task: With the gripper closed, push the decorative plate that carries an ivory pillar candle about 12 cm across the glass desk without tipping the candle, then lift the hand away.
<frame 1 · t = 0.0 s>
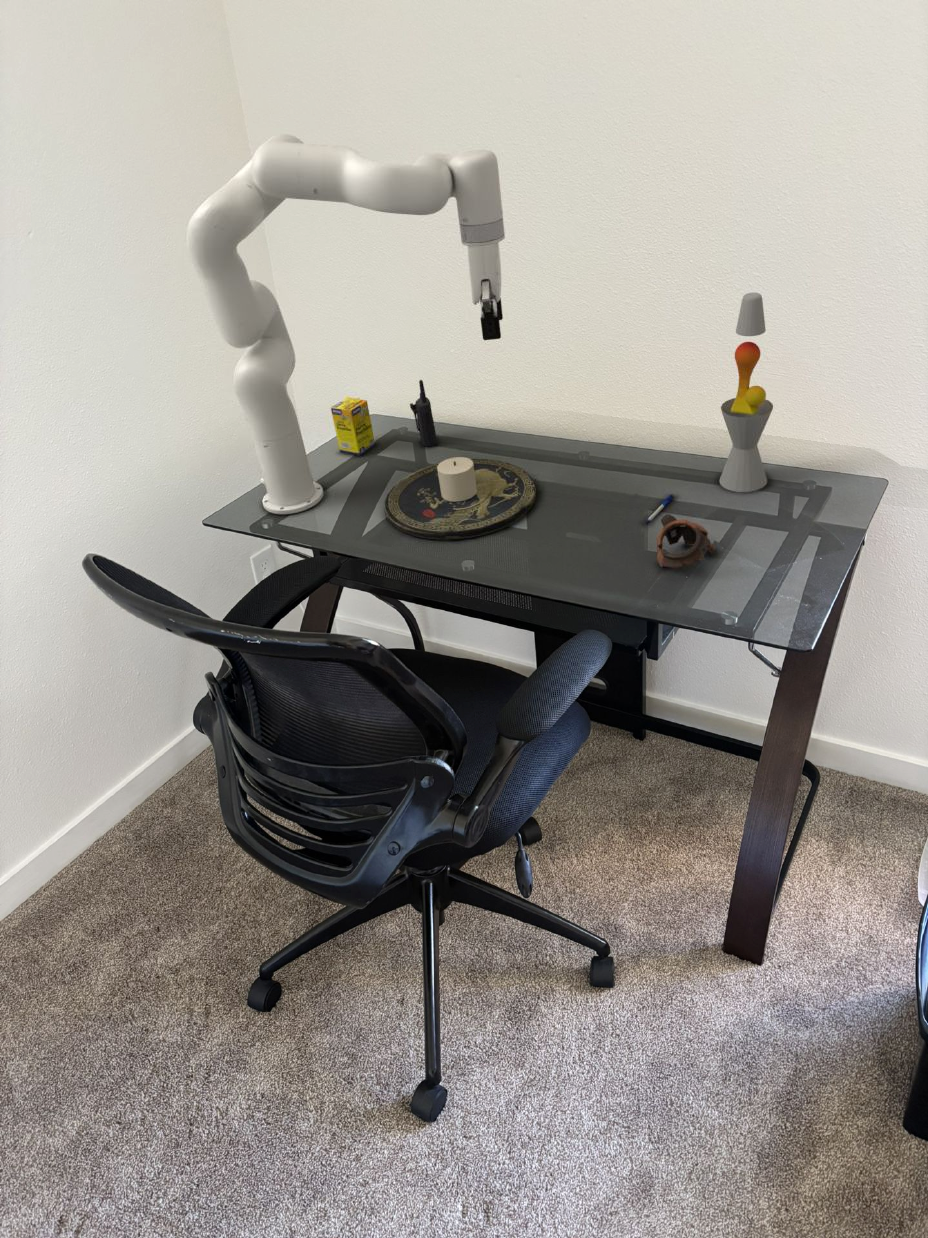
hand: (493, 329, 171), 31 cm above the table, tool pointing down, fingers open, 9 cm apart
lava lamp: (743, 481, 178), on the table
pottery mug: (682, 557, 160), on the table
supplement box: (358, 449, 211), on the table
two-way radio: (426, 443, 209), on the table
candle: (459, 492, 184), point 2 cm above the table, touching decorative plate
ballpoint pen: (659, 511, 173), on the table
decorative plate: (460, 501, 185), on the table, touching candle
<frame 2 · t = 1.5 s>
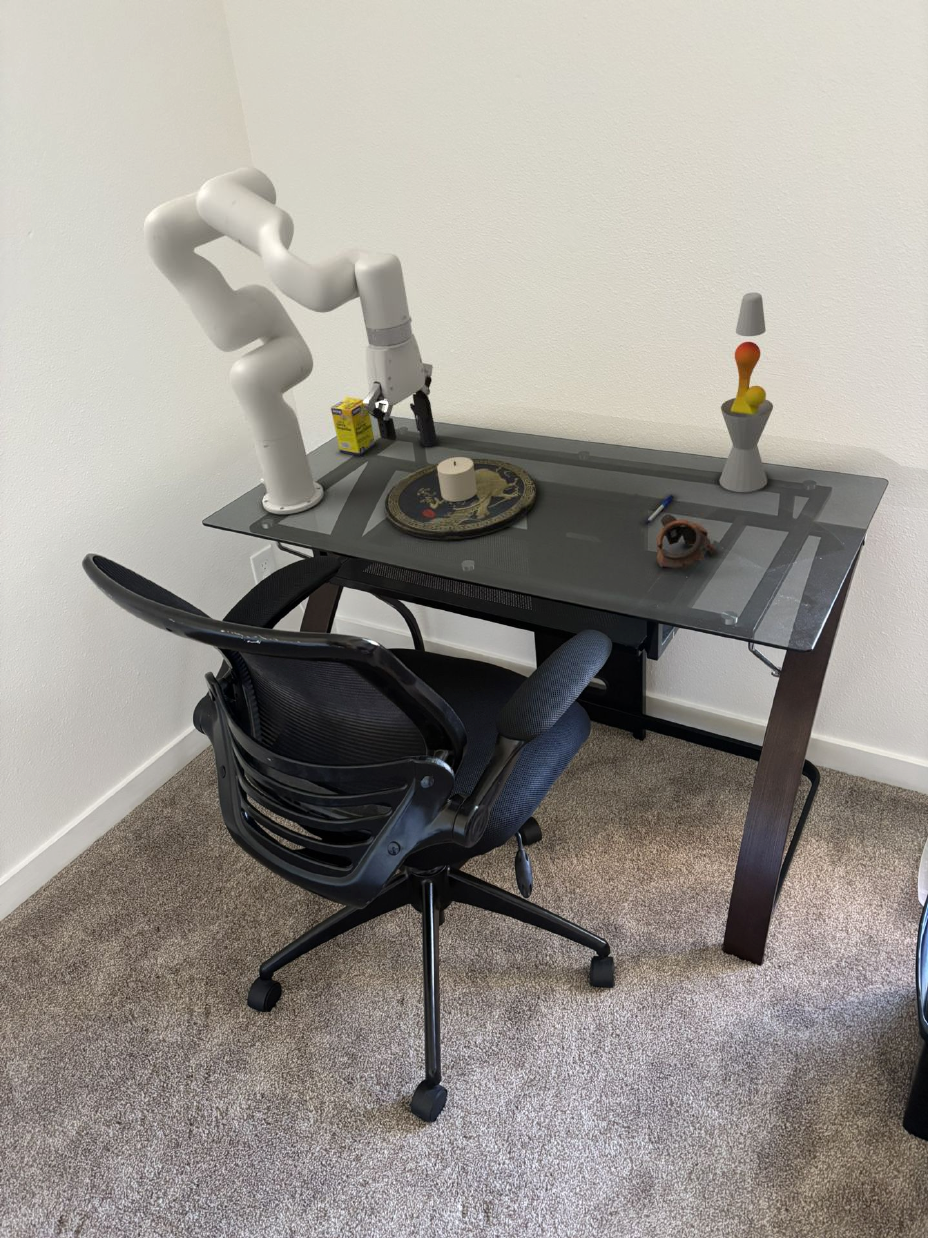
hand: (406, 427, 167), 21 cm above the table, tool pointing down, fingers open, 9 cm apart
nothing on the table moved.
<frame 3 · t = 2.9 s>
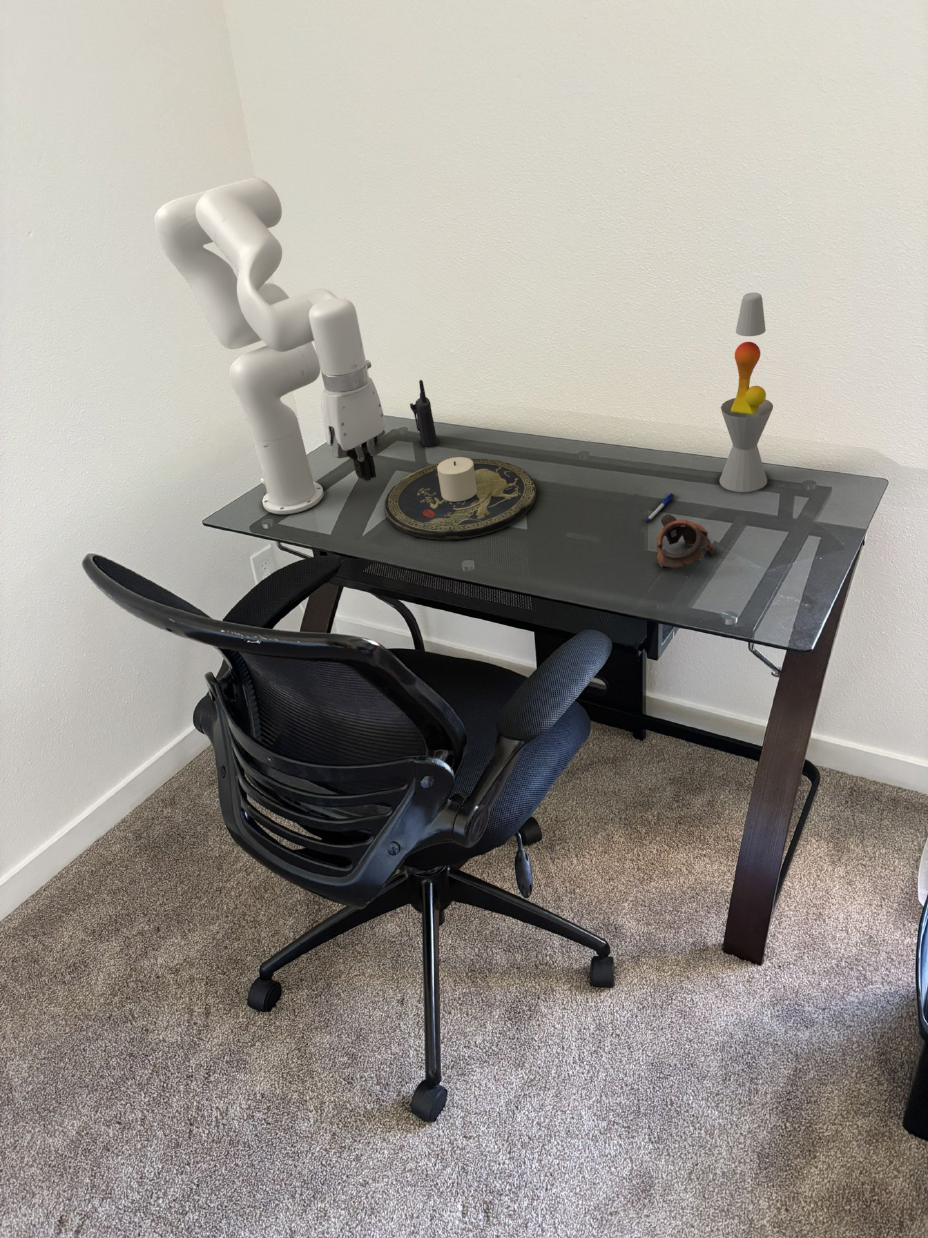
hand: (366, 476, 165), 15 cm above the table, tool pointing down, fingers closed
nothing on the table moved.
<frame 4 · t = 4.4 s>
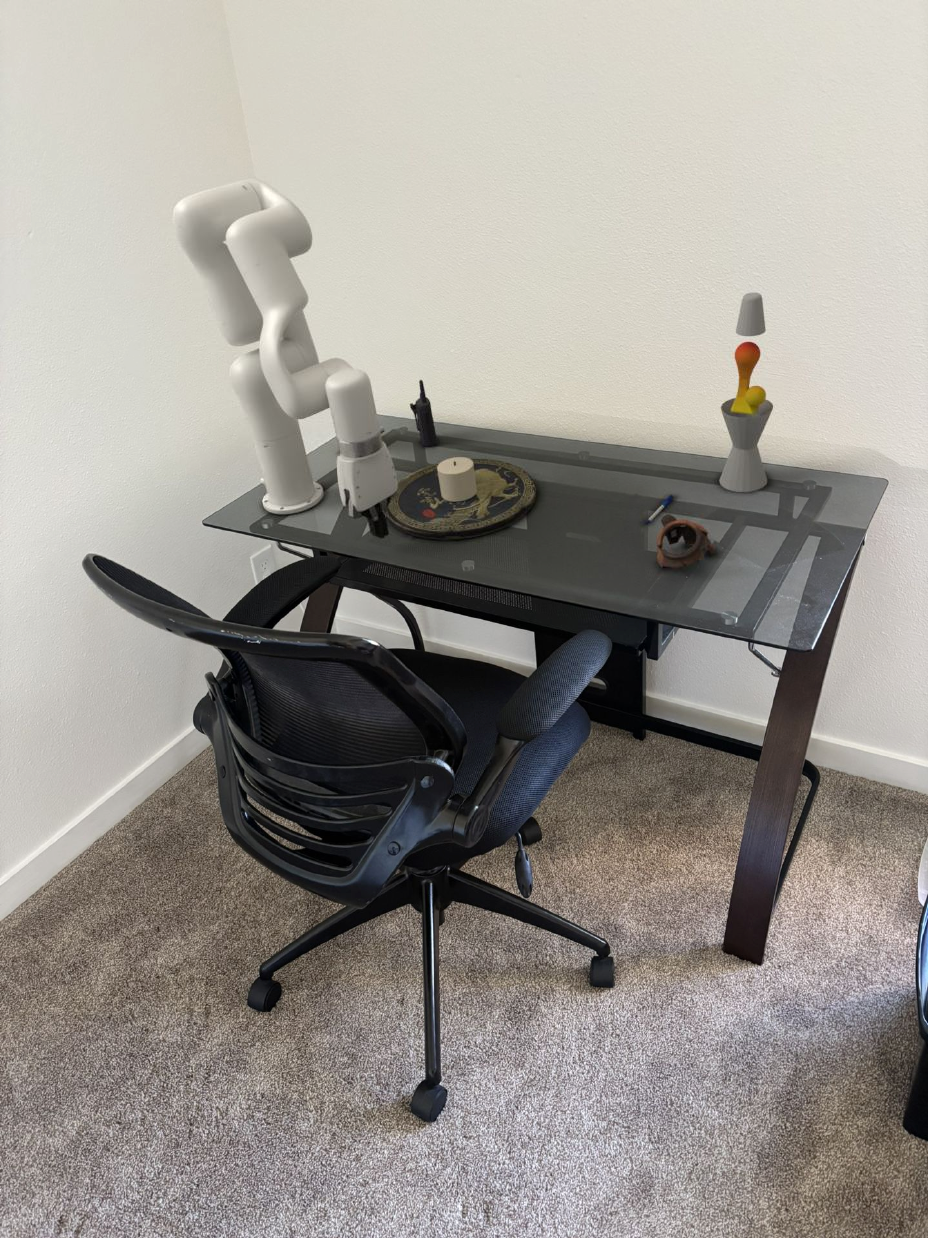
hand: (380, 534, 172), 3 cm above the table, tool pointing down, fingers closed
nothing on the table moved.
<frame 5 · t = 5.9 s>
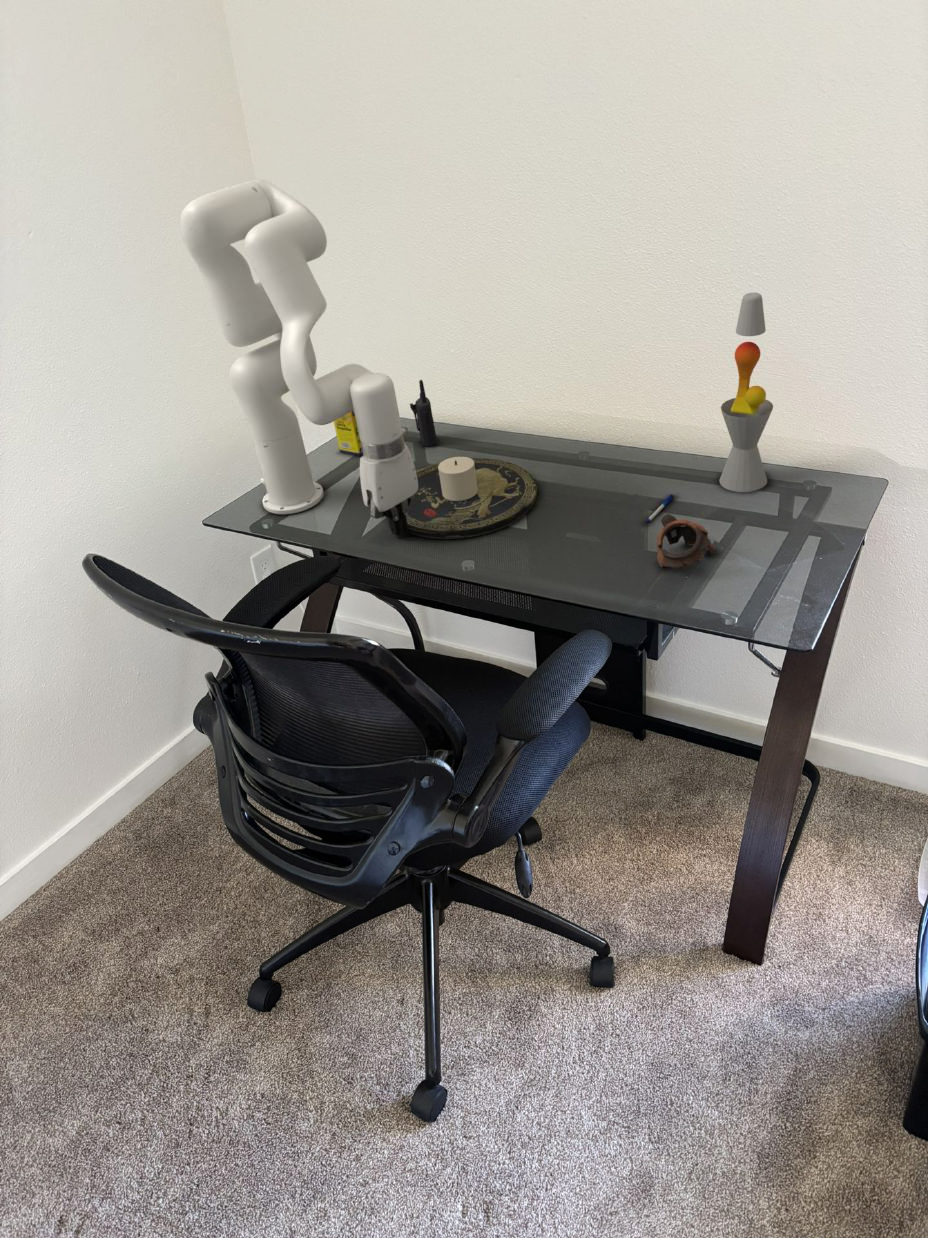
hand: (400, 534, 176), 1 cm above the table, tool pointing down, fingers closed
decorative plate: (461, 501, 186), on the table, touching candle, gripper
everything else where it was.
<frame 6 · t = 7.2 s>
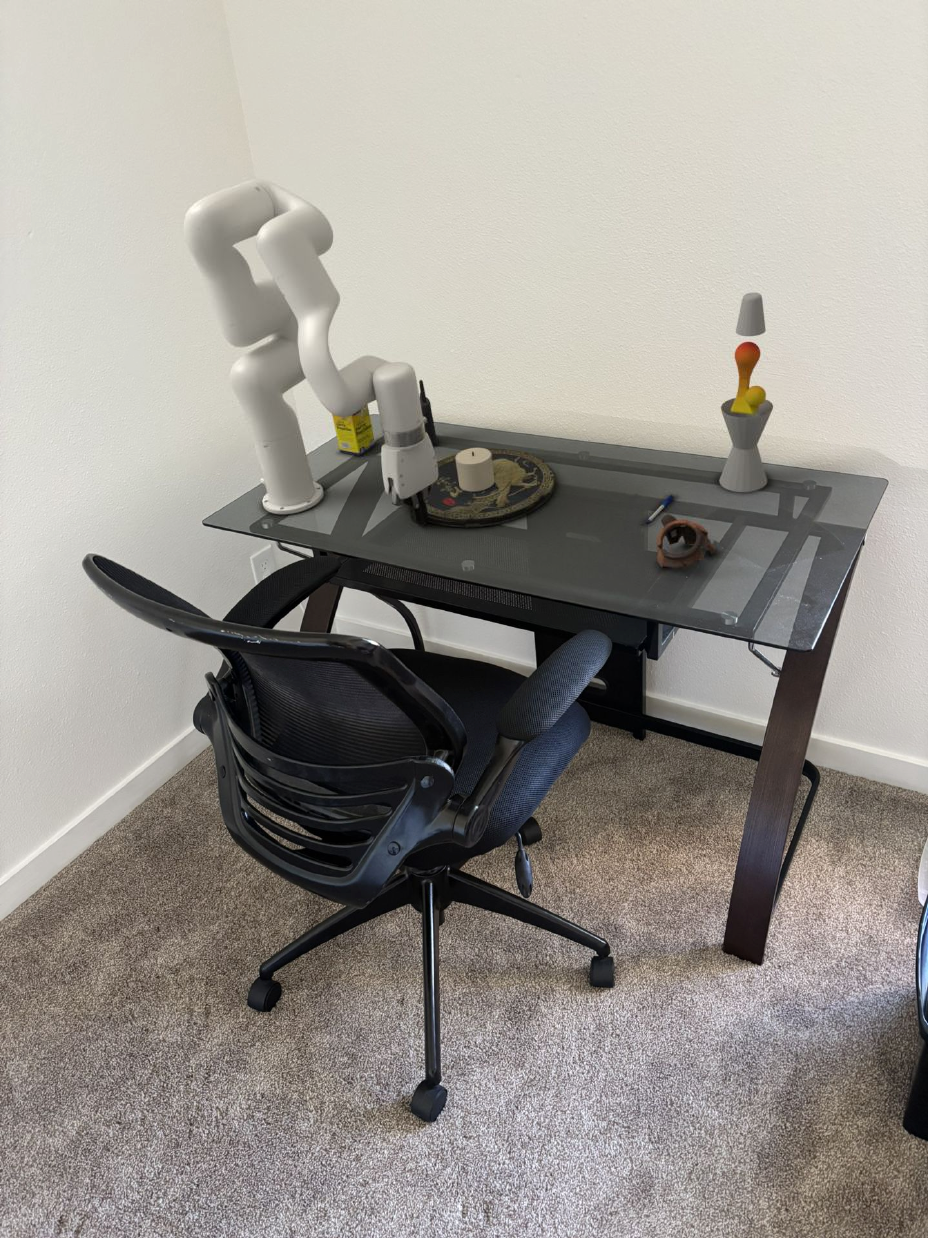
hand: (420, 521, 179), 1 cm above the table, tool pointing down, fingers closed
candle: (476, 482, 187), point 2 cm above the table, touching decorative plate
decorative plate: (480, 490, 188), on the table, touching candle, gripper
everything else where it was.
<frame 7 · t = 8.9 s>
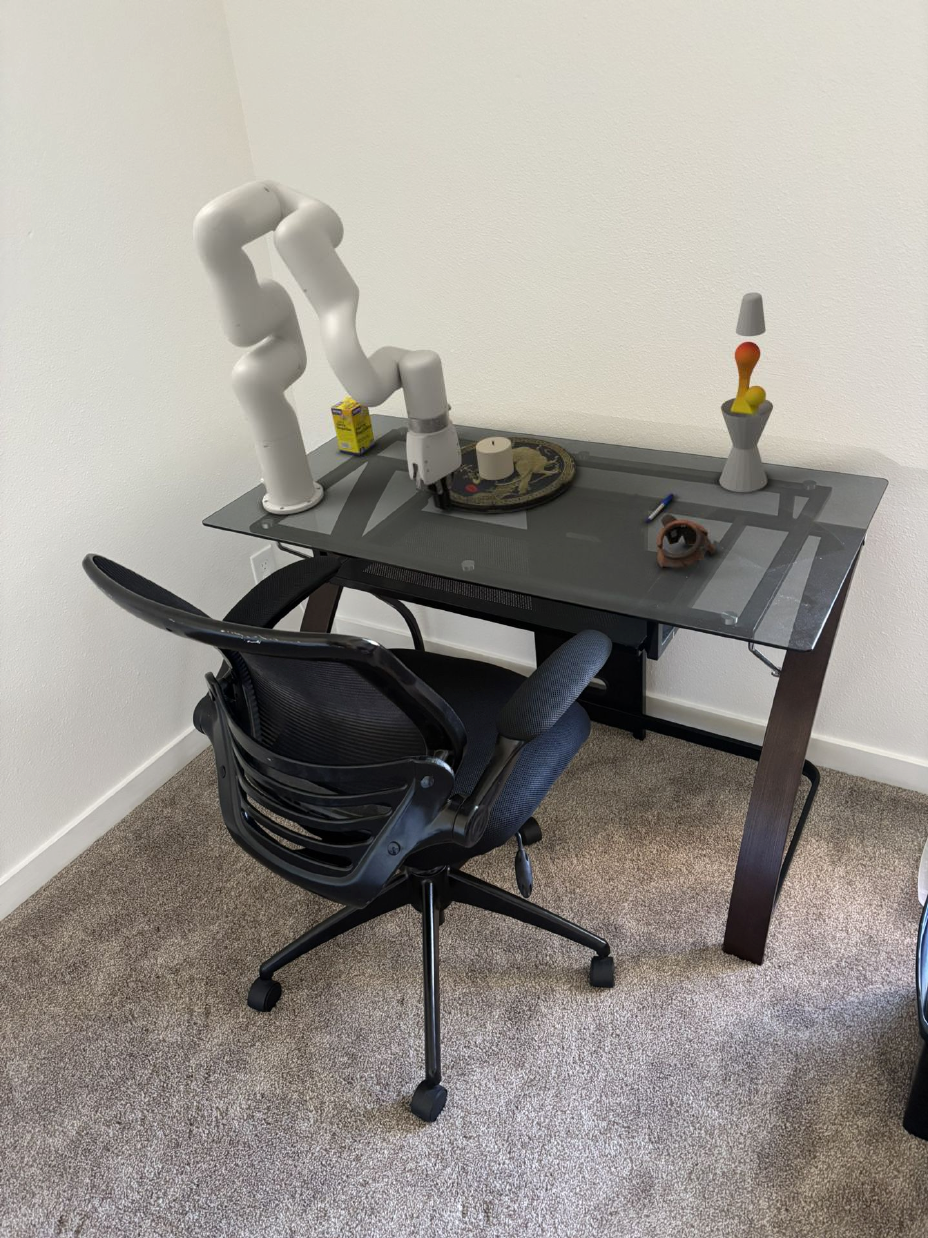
hand: (443, 507, 182), 1 cm above the table, tool pointing down, fingers closed
candle: (496, 471, 189), point 2 cm above the table, touching decorative plate
decorative plate: (502, 478, 191), on the table, touching candle, gripper
everything else where it was.
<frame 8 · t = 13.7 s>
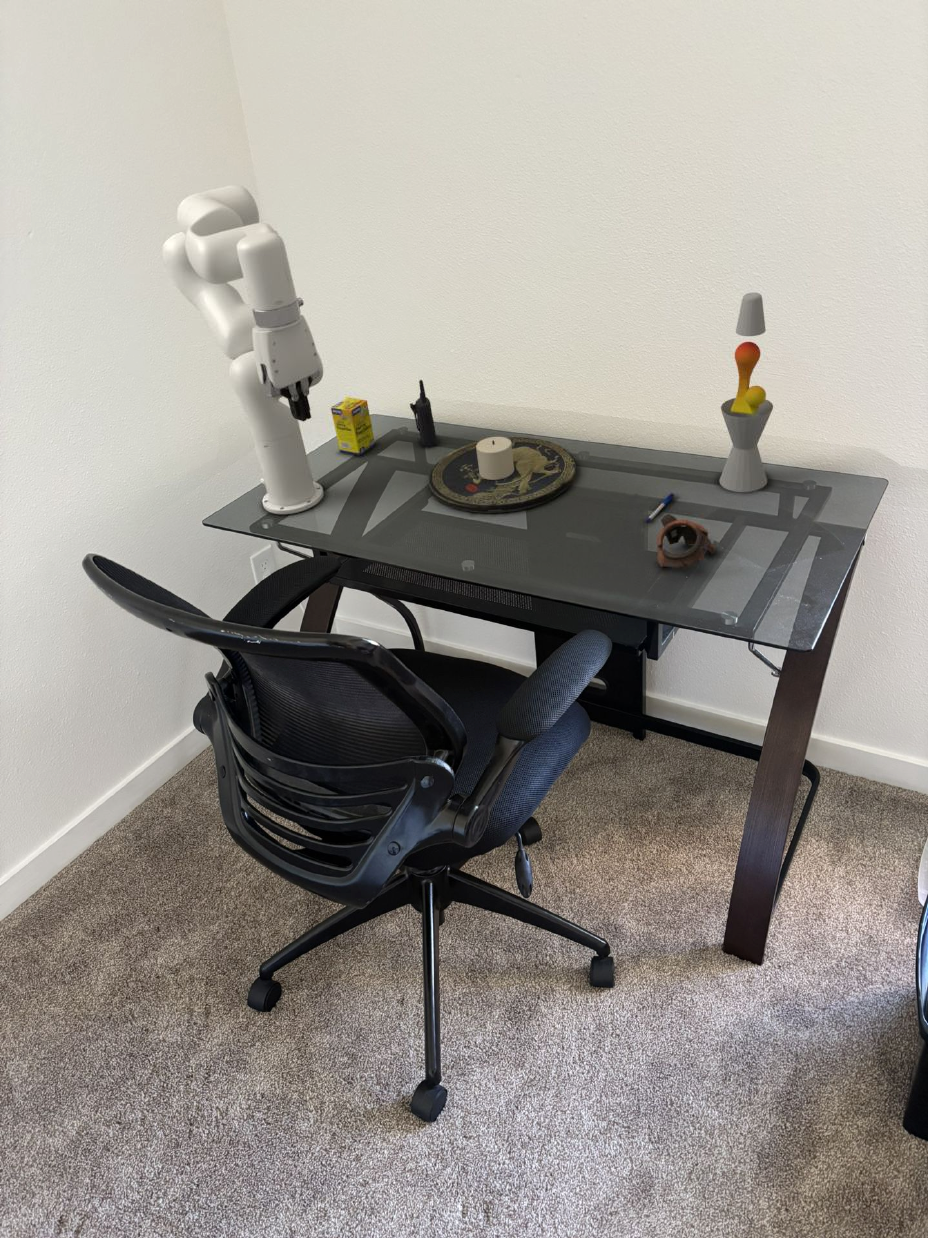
hand: (302, 417, 165), 25 cm above the table, tool pointing down, fingers closed
decorative plate: (502, 477, 191), on the table, touching candle
everything else where it was.
at the end: decorative plate inside the target area (0.7 cm from its centre), on the table; candle 1.3 cm from the decorative plate (horizontally); candle tilted 0° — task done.
